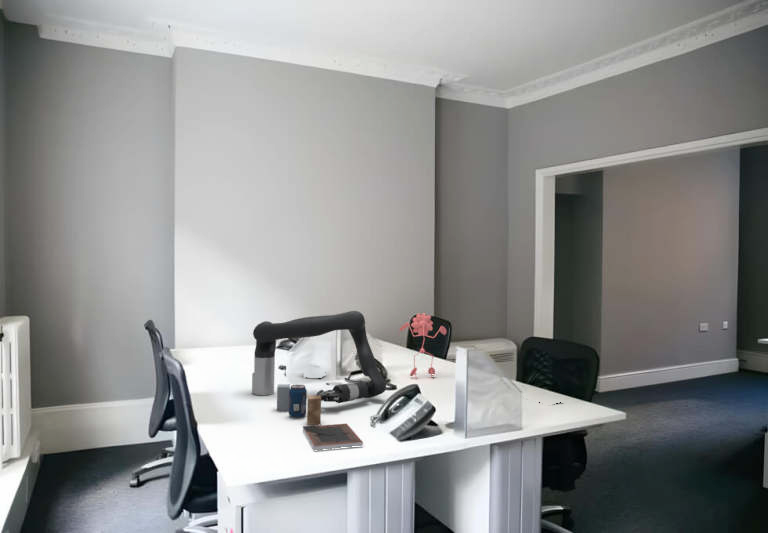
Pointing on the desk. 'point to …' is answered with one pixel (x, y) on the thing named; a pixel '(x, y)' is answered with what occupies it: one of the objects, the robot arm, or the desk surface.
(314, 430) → the picture frame
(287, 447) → the desk surface
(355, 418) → the desk surface
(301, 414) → the soda can
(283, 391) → the slate block
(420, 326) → the pink toy figure
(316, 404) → the walnut block
